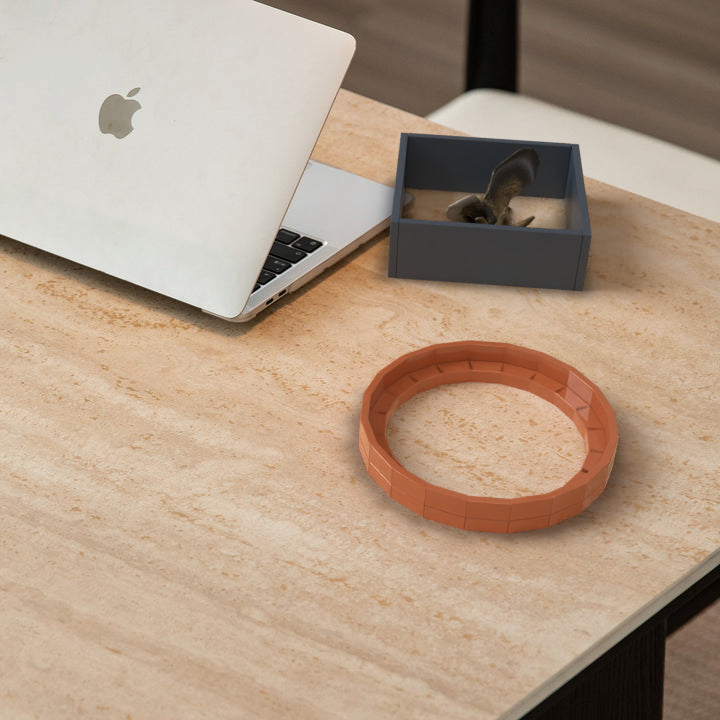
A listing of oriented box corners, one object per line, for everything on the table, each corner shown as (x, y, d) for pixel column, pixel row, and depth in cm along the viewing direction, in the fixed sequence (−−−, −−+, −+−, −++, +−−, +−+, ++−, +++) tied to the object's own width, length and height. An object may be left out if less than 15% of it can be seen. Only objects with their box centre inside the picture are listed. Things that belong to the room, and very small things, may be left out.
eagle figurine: (559, 255, 92) (559, 179, 98) (514, 188, 88) (518, 113, 94) (468, 288, 96) (475, 212, 102) (422, 225, 92) (431, 150, 98)
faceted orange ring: (599, 386, 82) (606, 349, 81) (620, 552, 70) (629, 513, 68) (368, 368, 83) (370, 332, 81) (349, 530, 71) (350, 492, 69)
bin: (569, 204, 102) (579, 143, 99) (581, 300, 91) (591, 235, 87) (397, 192, 103) (400, 132, 99) (387, 286, 91) (390, 221, 88)
